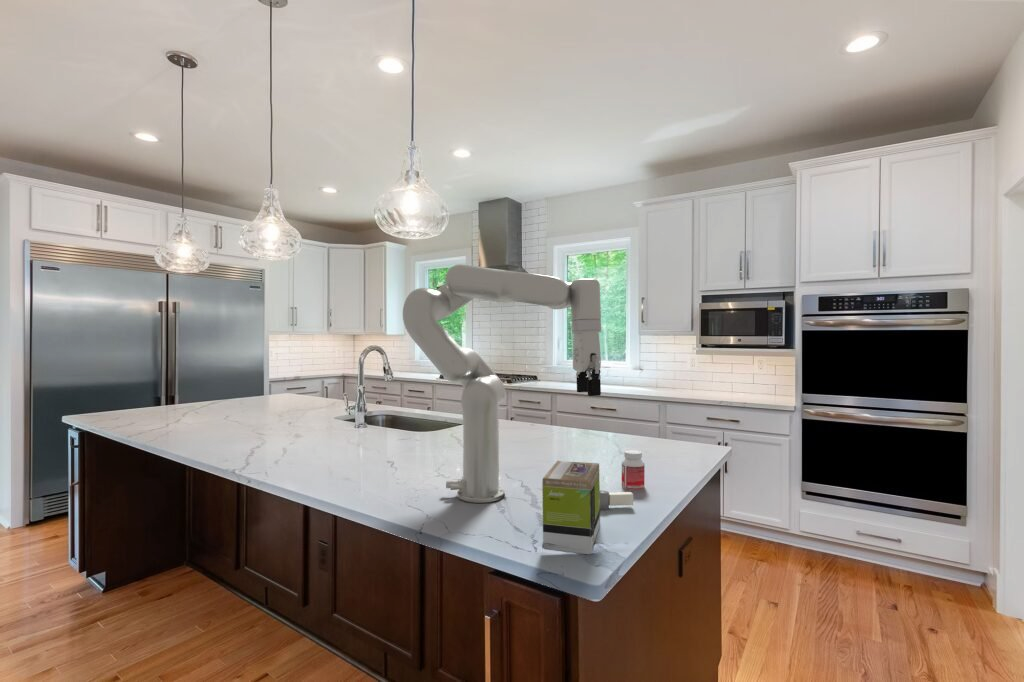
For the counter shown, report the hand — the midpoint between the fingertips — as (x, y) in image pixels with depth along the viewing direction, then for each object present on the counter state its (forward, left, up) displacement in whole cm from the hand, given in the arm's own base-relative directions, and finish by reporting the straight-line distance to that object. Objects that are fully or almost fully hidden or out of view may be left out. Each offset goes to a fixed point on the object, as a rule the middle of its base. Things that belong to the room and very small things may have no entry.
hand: (588, 393), depth 129 cm
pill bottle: (+15, +8, -28) cm, 33 cm away
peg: (+4, -8, -27) cm, 28 cm away
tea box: (-9, -22, -28) cm, 37 cm away
